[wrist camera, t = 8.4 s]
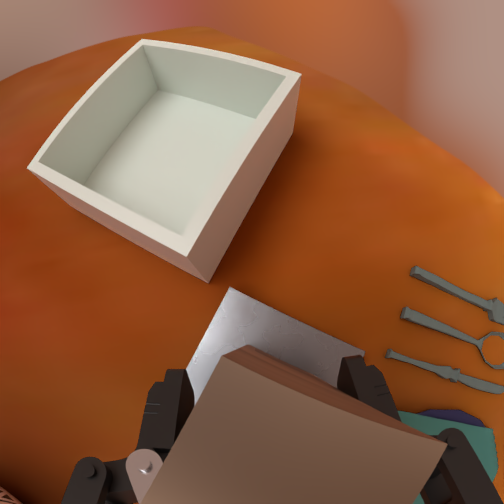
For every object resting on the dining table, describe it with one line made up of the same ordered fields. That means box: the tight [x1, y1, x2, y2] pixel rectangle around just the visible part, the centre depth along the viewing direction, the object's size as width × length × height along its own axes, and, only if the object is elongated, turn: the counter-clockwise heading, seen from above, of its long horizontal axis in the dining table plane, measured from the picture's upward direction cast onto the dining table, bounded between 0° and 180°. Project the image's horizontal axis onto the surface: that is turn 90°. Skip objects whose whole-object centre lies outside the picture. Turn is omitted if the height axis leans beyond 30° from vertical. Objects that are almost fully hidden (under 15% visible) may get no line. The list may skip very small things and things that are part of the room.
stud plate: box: [186, 287, 365, 404], centre depth 17 cm, size 10×10×5 cm
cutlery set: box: [385, 266, 504, 504], centre depth 16 cm, size 20×30×2 cm, turn 157°
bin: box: [27, 39, 301, 283], centre depth 21 cm, size 15×15×7 cm
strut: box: [140, 344, 448, 504], centre depth 11 cm, size 4×4×15 cm
